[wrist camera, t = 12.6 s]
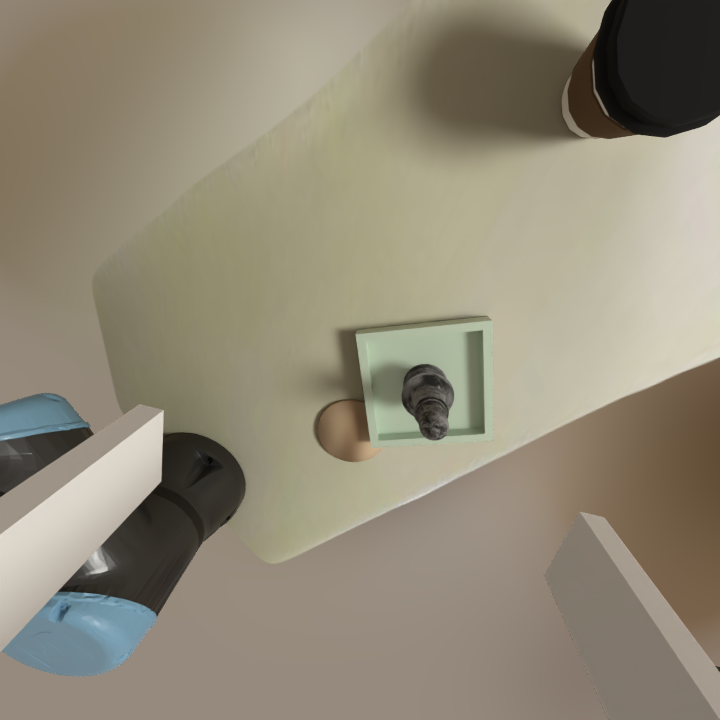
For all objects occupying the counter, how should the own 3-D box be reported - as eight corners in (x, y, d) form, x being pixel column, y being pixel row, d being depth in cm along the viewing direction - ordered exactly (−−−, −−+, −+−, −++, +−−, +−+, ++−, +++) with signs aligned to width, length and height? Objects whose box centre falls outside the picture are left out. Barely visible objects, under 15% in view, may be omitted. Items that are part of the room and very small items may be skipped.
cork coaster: (324, 461, 49) (323, 463, 48) (313, 402, 46) (312, 404, 45) (389, 457, 48) (389, 459, 47) (382, 397, 45) (382, 398, 44)
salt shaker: (412, 412, 44) (419, 473, 33) (392, 373, 43) (392, 422, 32) (457, 394, 43) (479, 451, 32) (438, 353, 42) (454, 397, 30)
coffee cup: (609, -8, 30) (737, -152, 19) (686, 89, 32) (846, 9, 21) (509, 108, 34) (568, 44, 22) (584, 190, 35) (674, 169, 24)
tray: (372, 439, 47) (371, 448, 45) (357, 329, 42) (355, 334, 40) (489, 431, 45) (493, 440, 43) (487, 316, 40) (492, 320, 38)
